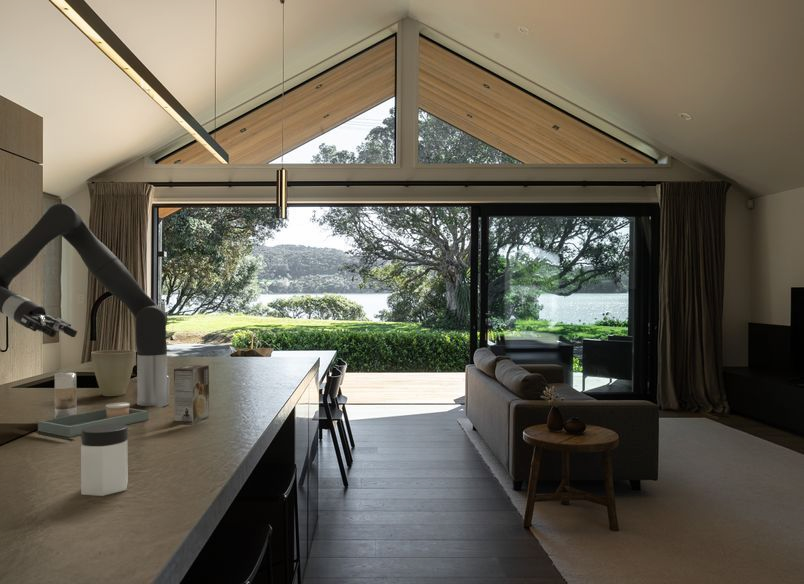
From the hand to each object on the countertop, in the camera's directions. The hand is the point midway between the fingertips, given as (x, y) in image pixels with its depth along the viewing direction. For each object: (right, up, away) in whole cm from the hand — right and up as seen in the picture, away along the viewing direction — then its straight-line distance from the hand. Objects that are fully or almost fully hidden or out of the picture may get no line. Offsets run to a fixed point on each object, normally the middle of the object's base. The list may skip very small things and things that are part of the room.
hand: (65, 334), depth 186 cm
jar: (+43, -26, -64) cm, 81 cm away
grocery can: (+1, -26, -2) cm, 26 cm away
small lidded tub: (+18, -25, -6) cm, 31 cm away
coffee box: (+39, -26, -2) cm, 46 cm away
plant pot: (-6, -25, +43) cm, 51 cm away
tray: (+15, -26, -12) cm, 32 cm away
